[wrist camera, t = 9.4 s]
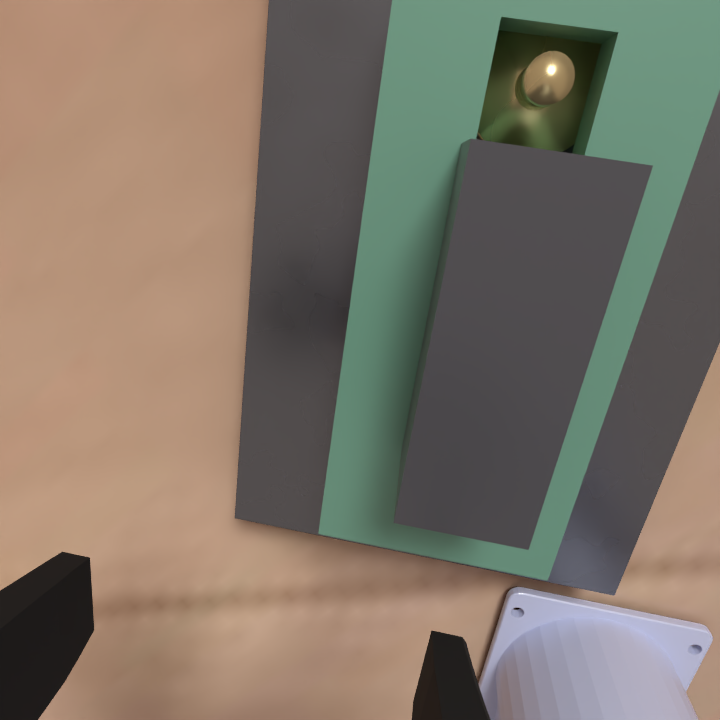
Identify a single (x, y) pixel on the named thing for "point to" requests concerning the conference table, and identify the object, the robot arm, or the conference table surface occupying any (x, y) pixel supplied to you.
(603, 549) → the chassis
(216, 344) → the conference table surface
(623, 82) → the board
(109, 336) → the conference table surface
